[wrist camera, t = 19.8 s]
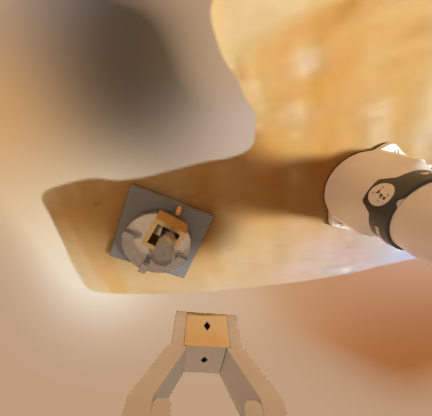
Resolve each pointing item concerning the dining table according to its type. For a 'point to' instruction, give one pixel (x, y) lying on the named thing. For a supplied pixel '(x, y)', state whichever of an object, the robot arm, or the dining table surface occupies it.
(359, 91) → the dining table surface
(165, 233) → the steel pin
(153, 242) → the grey round chuck
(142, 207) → the base
